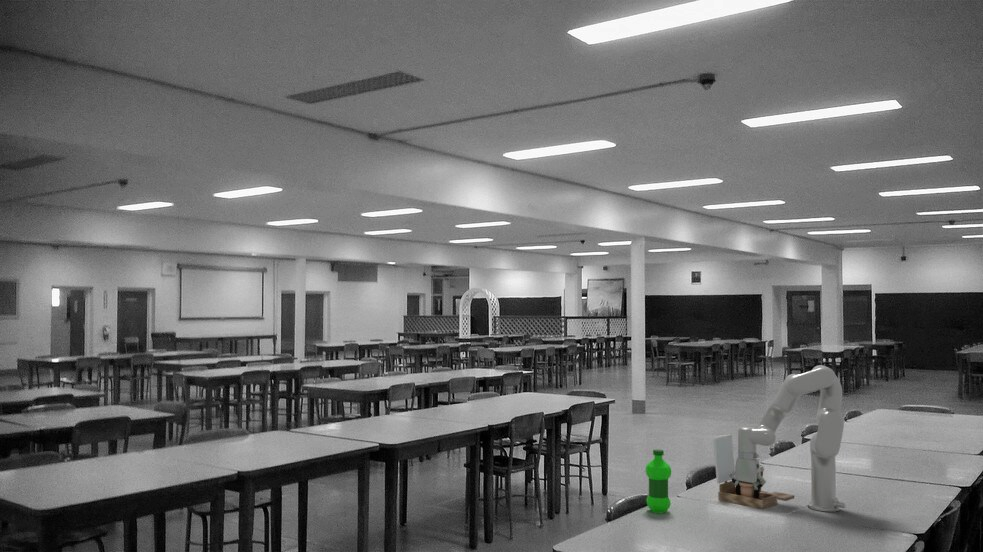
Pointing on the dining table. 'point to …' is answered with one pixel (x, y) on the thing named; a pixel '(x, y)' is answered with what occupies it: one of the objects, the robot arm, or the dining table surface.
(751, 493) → the pot
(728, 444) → the lid
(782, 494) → the board
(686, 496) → the dining table surface
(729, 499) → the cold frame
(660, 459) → the plastic bottle
